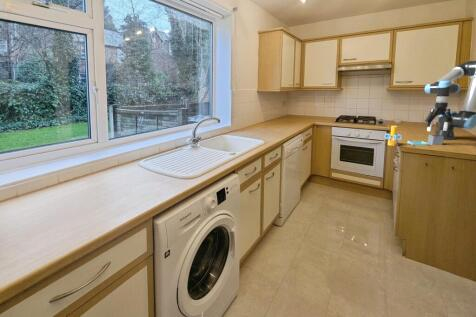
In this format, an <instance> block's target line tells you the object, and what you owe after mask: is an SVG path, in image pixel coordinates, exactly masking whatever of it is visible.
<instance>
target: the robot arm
mask: <svg viewBox="0 0 476 317" xmlns="http://www.w3.org/2000/svg"><path fill="white" fill-rule="evenodd" d="M462 77H469V78H470V82H469V86H468V90H467V92H466V96H465V100H464V101H463V105H462V108H461V109H460V110H459V112H457V111H456V110H455V111H451V109H450V108H448V105H449V103H448V102H449V98H450V95H455V94H458V93H459V92H460V91H461V85H460V84H459V83H453V82H455V80H457V79H460V78H462ZM424 92H425V94H428V95H429V94H430V95H433V94H434V95H435V94H436V98H435V103H434V108H431V109H430V112H429V114H428V115H427V116H426V119H425V120H424V121H425V122H426V123H427V124H426V127H427V129H426V131H427V132H431V131H432V126H433V121H434V120H435V119H436V117H438V120H437V122H441V125H440V131H439V135H440V136H444V138H443V141H444V140H446V141H449V140H456V134H455V131H454V129H455V128H460V129H464V130H465V129H469V130H472V129H473V128H475V127H476V60H469V61H464V62H462V63H460V64H458V65H456V66H454V67H453V68H452V69H451V70H450V71H449V72H448V73H446V74H445V75H444V76H442V77H441V78H439V79H437V80H436V81H435V82H433V83H428V84H426V85H425V86H424Z"/></svg>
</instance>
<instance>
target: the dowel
mask: <svg viewBox="0 0 476 317" xmlns="http://www.w3.org/2000/svg"><path fill="white" fill-rule="evenodd" d="M440 125H441V122H438V121H435V126H434V133H433V135H434V136H439V131H440Z"/></svg>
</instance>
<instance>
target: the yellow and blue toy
mask: <svg viewBox="0 0 476 317" xmlns="http://www.w3.org/2000/svg"><path fill="white" fill-rule="evenodd" d="M390 127H391V129H390V133H385V135H384V138H385V139H386V140H387V146H392V147H394V146H395V147H397V144H398V143H397V142H398V141H401V140H402V138H403V136H402V135H401V134H399V133H397V131H398V125H391V126H390Z"/></svg>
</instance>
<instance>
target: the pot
mask: <svg viewBox="0 0 476 317" xmlns="http://www.w3.org/2000/svg"><path fill="white" fill-rule="evenodd" d="M443 138H444V136H440V135H439V136H434V134H428V139H427V143H429V145H431V146H443V144H444V139H443Z"/></svg>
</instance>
